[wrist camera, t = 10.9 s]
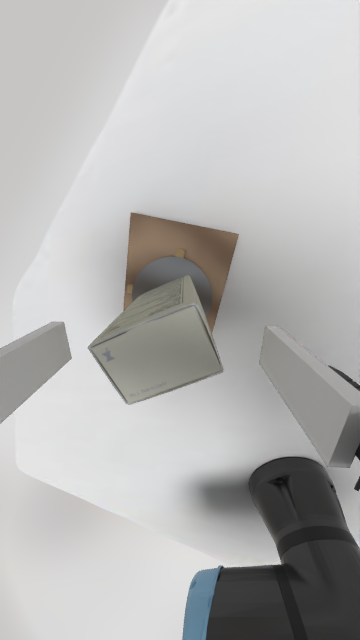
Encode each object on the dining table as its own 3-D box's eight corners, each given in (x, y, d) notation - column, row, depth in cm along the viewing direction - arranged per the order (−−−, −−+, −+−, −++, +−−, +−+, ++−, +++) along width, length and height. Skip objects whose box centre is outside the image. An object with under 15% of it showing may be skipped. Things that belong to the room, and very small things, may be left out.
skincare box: (155, 327, 22) (124, 409, 11) (138, 293, 21) (81, 347, 10) (205, 307, 21) (227, 376, 10) (190, 270, 20) (196, 301, 8)
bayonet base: (204, 352, 28) (207, 367, 24) (123, 337, 27) (114, 351, 24) (235, 234, 22) (245, 232, 18) (133, 214, 21) (123, 207, 18)
